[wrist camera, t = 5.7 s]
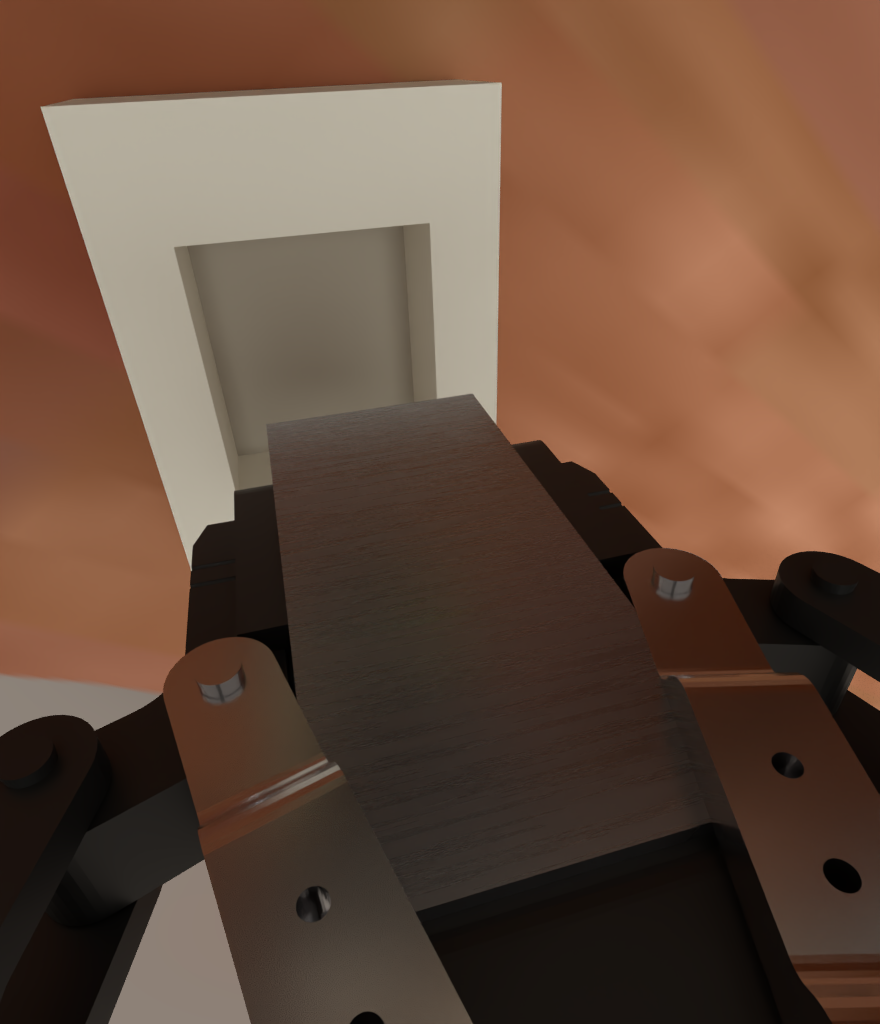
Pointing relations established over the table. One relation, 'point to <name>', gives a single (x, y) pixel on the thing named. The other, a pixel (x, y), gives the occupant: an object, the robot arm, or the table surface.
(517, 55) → the table surface
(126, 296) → the well block
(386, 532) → the grey rectangular block
